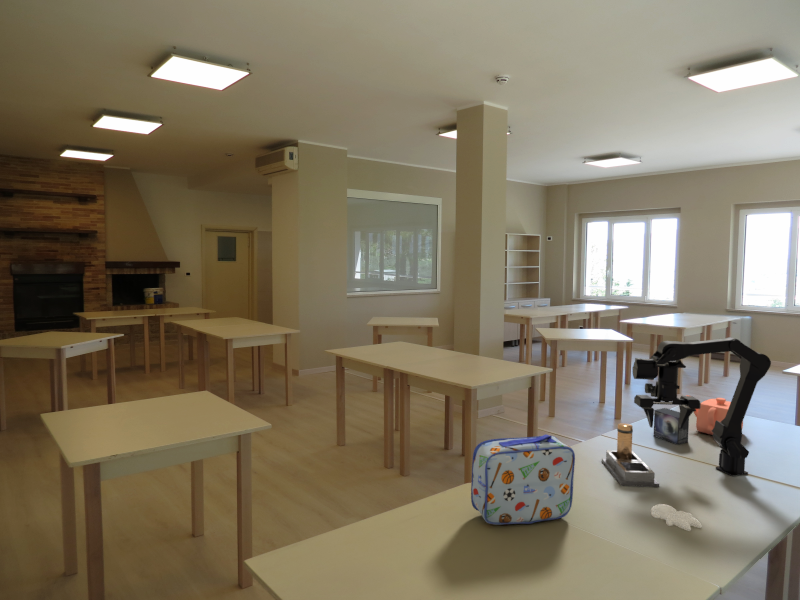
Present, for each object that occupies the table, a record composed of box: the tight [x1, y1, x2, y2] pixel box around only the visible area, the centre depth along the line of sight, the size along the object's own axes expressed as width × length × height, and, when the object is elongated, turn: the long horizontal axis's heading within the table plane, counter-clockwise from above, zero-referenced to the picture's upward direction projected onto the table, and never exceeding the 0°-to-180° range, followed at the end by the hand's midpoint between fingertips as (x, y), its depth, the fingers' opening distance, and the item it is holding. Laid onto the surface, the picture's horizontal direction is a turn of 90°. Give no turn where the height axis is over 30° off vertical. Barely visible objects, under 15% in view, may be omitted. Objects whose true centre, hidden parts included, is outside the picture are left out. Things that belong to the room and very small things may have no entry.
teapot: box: [685, 394, 744, 436], centre depth 206 cm, size 20×19×14 cm
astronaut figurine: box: [650, 503, 703, 532], centre depth 136 cm, size 9×12×3 cm
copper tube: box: [616, 422, 634, 460], centre depth 169 cm, size 5×5×13 cm
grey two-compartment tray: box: [601, 450, 660, 488], centre depth 165 cm, size 19×11×4 cm, turn 176°
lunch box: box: [470, 434, 576, 525], centre depth 136 cm, size 28×10×22 cm, turn 105°
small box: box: [652, 407, 690, 445], centre depth 196 cm, size 11×6×10 cm, turn 25°
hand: (665, 427), depth 169 cm, fingers open, 9 cm apart
